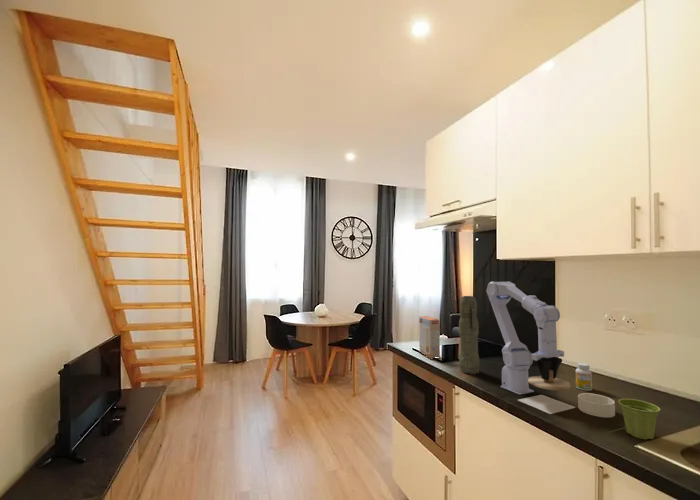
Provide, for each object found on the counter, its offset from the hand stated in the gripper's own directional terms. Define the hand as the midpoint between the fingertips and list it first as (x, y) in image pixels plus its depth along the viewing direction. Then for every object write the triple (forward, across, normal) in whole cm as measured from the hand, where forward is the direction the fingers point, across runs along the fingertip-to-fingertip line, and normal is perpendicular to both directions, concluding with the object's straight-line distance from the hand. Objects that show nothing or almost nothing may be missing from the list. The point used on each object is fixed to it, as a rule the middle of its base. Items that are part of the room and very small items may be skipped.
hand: (548, 378), depth 122 cm
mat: (+9, -1, +1) cm, 9 cm away
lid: (+2, 0, 0) cm, 2 cm away
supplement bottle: (+9, +28, +6) cm, 30 cm away
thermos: (+9, +2, +42) cm, 43 cm away
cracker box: (+9, +1, +72) cm, 73 cm away
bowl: (+9, +9, -10) cm, 17 cm away
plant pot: (+10, +4, -25) cm, 27 cm away
